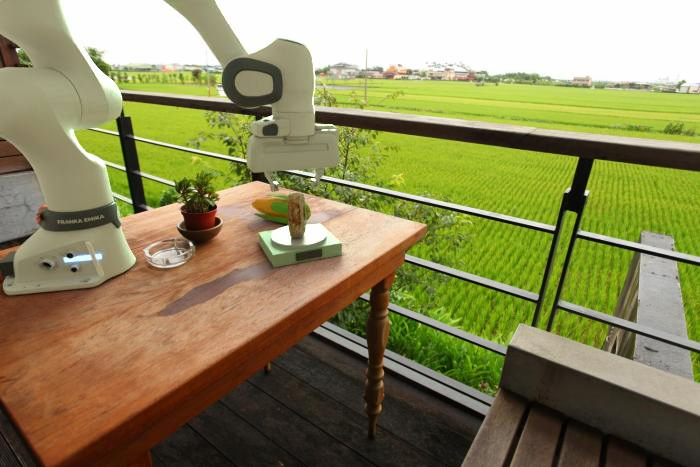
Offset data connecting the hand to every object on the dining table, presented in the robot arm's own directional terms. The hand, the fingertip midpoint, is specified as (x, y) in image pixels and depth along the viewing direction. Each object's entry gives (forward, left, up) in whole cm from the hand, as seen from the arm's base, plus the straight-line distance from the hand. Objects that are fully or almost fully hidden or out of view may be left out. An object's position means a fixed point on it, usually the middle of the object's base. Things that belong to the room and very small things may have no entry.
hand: (295, 189), depth 87 cm
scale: (0, 0, -15) cm, 15 cm away
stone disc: (0, -1, -11) cm, 11 cm away
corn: (+1, +21, -15) cm, 26 cm away
